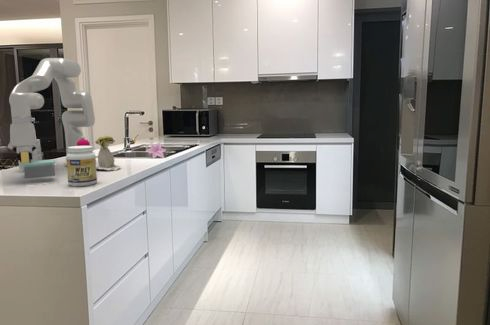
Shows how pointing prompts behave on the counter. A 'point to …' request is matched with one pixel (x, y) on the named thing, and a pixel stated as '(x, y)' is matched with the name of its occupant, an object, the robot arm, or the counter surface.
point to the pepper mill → (83, 142)
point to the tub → (39, 171)
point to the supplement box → (35, 155)
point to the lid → (34, 163)
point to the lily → (156, 150)
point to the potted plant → (105, 154)
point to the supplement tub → (81, 166)
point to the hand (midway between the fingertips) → (25, 161)
